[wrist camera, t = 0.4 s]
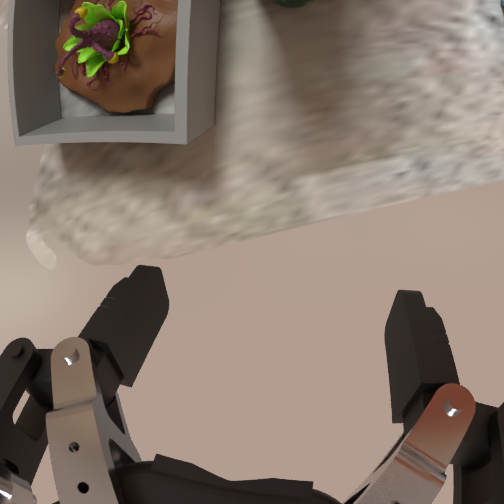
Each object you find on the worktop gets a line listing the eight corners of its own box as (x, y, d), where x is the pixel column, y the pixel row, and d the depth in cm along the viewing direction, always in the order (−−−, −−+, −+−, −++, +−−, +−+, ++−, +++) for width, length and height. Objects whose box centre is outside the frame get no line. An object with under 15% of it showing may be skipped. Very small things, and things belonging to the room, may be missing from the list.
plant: (229, -1, 27) (195, -23, 18) (149, 130, 38) (100, 157, 28) (107, -46, 23) (53, -61, 14) (51, 71, 34) (-5, 86, 25)
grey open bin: (57, -26, 24) (13, -30, 17) (226, -67, 21) (201, -96, 14) (56, 126, 39) (15, 145, 31) (214, 125, 36) (186, 144, 28)
